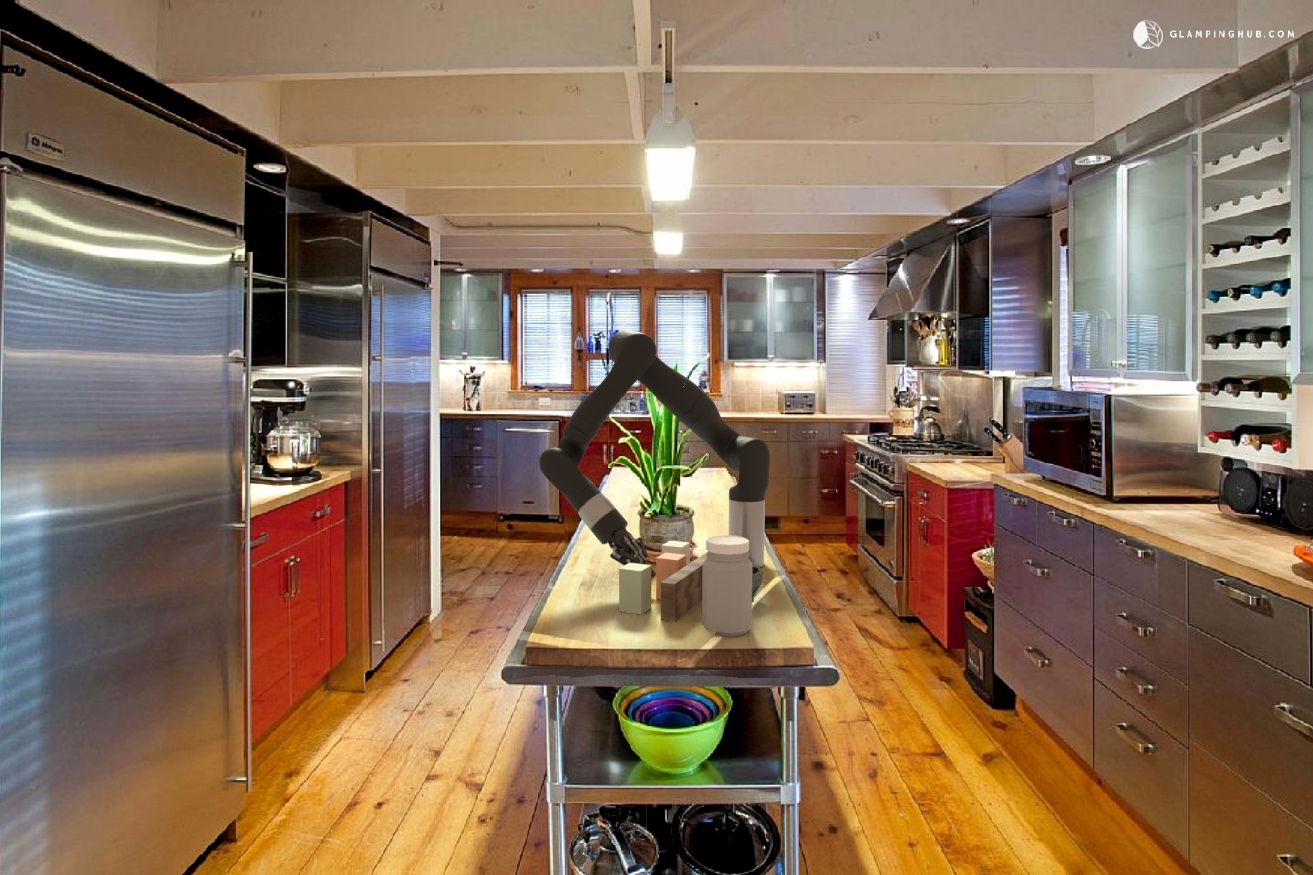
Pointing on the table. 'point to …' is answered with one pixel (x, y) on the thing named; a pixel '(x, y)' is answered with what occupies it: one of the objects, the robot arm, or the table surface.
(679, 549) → the beige block
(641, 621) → the table surface
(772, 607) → the table surface
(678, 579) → the brown wooden block
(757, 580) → the mortar and pestle
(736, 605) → the jar
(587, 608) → the table surface
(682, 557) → the salmon block
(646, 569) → the sage block
